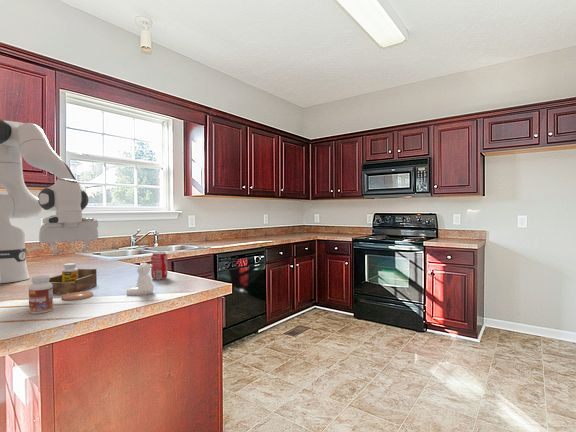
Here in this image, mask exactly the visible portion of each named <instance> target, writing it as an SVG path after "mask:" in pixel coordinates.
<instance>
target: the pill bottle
mask: <svg viewBox="0 0 576 432" xmlns="http://www.w3.org/2000/svg"><path fill="white" fill-rule="evenodd" d="M50 278H51V276H50V275H35V276H32V277H31V284H30V285H29V287H28V311H29V314H33V315H38V314H44V313H49V312H52V310H53V309H54V307H53V306H54V305H53V304H54V299H53V297H54V295H53V294H54V293H53V285H52V284H51V283H50V282H49V281H50Z"/></svg>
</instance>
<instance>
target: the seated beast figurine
mask: <svg viewBox="0 0 576 432" xmlns="http://www.w3.org/2000/svg"><path fill="white" fill-rule="evenodd" d="M151 267H152V264H151V263H150V264H149V263H147V262H141V263H140V265H139V266H138V267H137V271H136V272H137V273H138V278H137V283H136V287H129V289H127V290H126V291H125V292H126V295H127V296H147V295H150V294H152V293H153V292H154V289H155V285H154V284H153V282H152V277H151V276H150V275H149V272H151Z"/></svg>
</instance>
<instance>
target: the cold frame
mask: <svg viewBox="0 0 576 432" xmlns="http://www.w3.org/2000/svg"><path fill="white" fill-rule="evenodd" d="M97 278H98V277H97V268H78V279H76V280H75V282H62V274H58V275H55V276H52V277H51V276H50V281H49V282H50V283H51V284H52V285H53V294H68V293H73V292H82V291H85V290H86V291H87V290H88V289H90V288H91V289H92V288H93V287H95V286H98V284H97V283H98V282H97Z"/></svg>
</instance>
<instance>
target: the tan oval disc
mask: <svg viewBox="0 0 576 432" xmlns="http://www.w3.org/2000/svg"><path fill="white" fill-rule="evenodd" d="M93 296H94V292H93V291H87V290H86V291H85V290H83V291H80V292H73V293H64V294H62V295H61V300H63V301H79V300H85V299H89V298H91V297H93Z"/></svg>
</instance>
